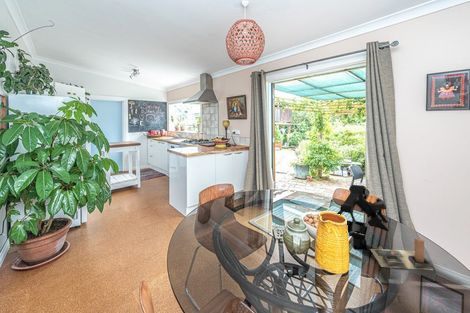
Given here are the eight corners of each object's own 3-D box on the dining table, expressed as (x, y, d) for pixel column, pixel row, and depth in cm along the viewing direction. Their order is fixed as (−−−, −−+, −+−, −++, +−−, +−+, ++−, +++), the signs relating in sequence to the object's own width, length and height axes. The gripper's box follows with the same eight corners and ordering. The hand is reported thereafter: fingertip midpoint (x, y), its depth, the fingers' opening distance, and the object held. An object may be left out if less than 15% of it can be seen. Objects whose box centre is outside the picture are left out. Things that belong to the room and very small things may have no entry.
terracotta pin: (417, 265, 98) (417, 242, 96) (412, 261, 101) (412, 238, 100) (426, 266, 97) (426, 242, 95) (421, 261, 100) (421, 238, 99)
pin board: (381, 268, 100) (381, 262, 99) (369, 250, 114) (369, 245, 113) (433, 272, 94) (434, 266, 94) (415, 253, 108) (415, 247, 108)
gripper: (375, 202, 104) (403, 227, 100) (375, 190, 119) (399, 211, 115) (357, 214, 110) (383, 238, 105) (360, 201, 125) (382, 221, 120)
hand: (387, 226), depth 111 cm, fingers open, 9 cm apart
